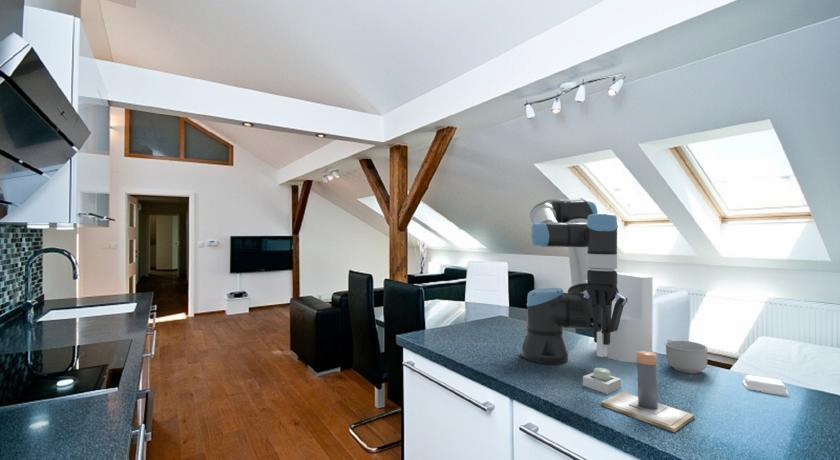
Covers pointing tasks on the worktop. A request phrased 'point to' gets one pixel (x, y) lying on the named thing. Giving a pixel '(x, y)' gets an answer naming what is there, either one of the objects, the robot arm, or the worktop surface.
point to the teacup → (686, 356)
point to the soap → (765, 385)
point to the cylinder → (633, 318)
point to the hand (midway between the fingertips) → (602, 355)
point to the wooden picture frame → (648, 412)
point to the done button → (602, 374)
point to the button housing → (602, 383)
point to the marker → (647, 379)
